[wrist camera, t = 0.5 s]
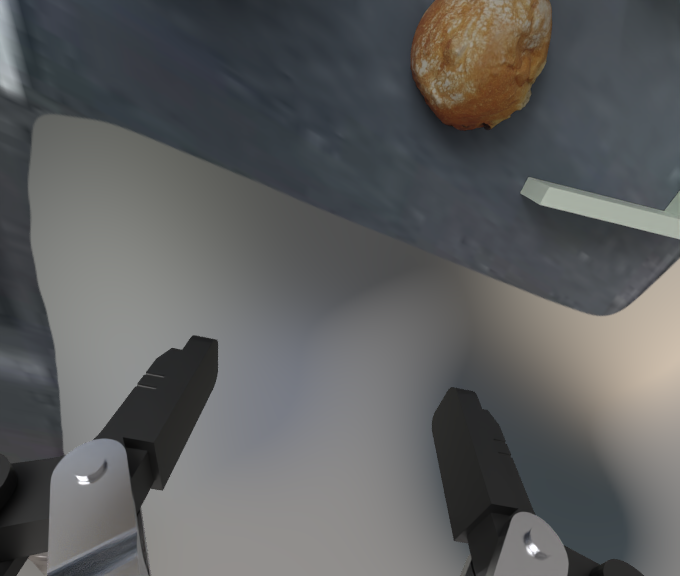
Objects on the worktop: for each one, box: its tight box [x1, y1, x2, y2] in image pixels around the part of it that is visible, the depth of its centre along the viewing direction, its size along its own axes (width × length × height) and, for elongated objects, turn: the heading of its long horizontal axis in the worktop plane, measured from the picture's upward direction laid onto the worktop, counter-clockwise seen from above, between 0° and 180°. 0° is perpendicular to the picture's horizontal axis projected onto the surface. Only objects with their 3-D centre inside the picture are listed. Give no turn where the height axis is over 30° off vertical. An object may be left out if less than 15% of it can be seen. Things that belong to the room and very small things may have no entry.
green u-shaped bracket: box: [520, 177, 680, 239], centre depth 26 cm, size 18×16×4 cm
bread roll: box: [411, 0, 552, 131], centre depth 25 cm, size 10×10×8 cm
